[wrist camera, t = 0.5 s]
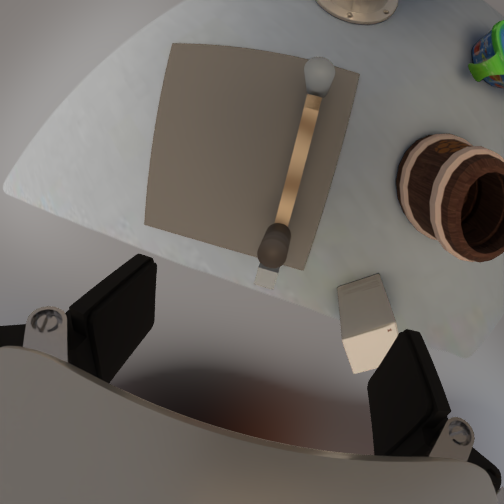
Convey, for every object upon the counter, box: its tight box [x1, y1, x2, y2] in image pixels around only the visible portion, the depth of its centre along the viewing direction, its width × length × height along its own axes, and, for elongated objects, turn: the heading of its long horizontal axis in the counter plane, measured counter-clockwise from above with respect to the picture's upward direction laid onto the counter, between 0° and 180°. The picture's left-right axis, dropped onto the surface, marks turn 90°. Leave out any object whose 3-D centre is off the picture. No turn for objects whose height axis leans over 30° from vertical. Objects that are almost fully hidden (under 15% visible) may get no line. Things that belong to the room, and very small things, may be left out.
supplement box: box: [337, 274, 398, 374], centre depth 38 cm, size 7×7×13 cm
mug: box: [396, 134, 504, 262], centre depth 27 cm, size 20×15×15 cm
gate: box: [257, 94, 322, 268], centre depth 31 cm, size 20×3×13 cm, turn 168°
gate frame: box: [254, 57, 335, 290], centre depth 32 cm, size 26×3×13 cm, turn 168°
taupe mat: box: [144, 43, 360, 270], centre depth 38 cm, size 30×27×1 cm
